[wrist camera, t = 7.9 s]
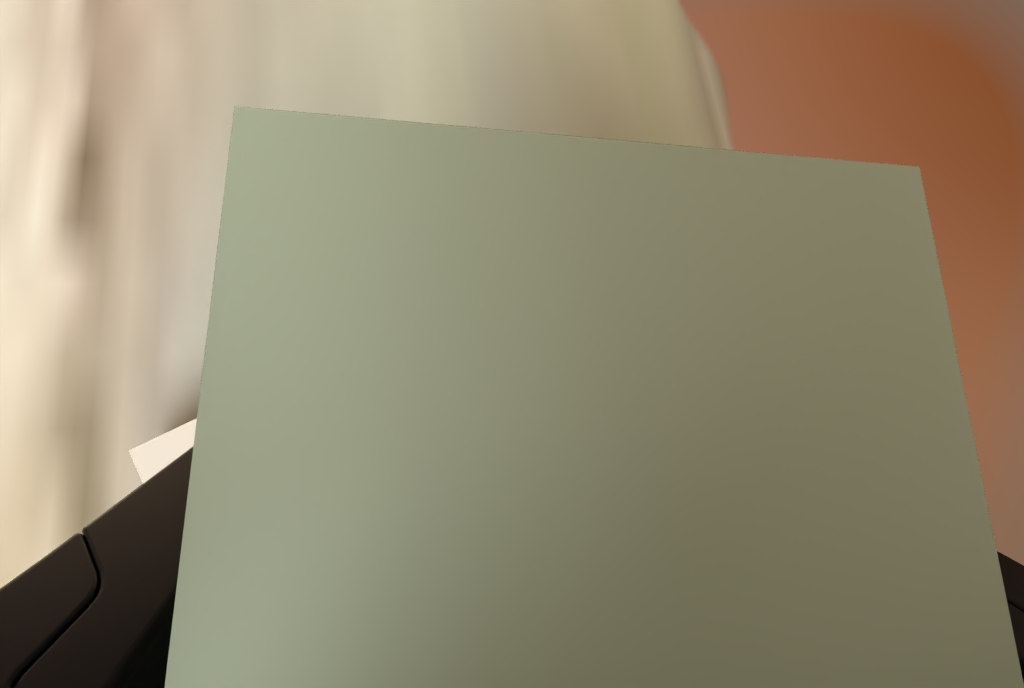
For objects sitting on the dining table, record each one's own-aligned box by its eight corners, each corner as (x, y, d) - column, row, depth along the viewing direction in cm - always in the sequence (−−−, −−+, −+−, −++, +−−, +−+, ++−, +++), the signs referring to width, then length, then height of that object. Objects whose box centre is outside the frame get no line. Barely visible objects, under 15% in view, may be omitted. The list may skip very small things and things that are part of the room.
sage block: (587, 643, 13) (1078, 956, 4) (334, 654, 12) (114, 1093, 3) (578, 401, 14) (919, 166, 5) (349, 396, 14) (234, 105, 4)
